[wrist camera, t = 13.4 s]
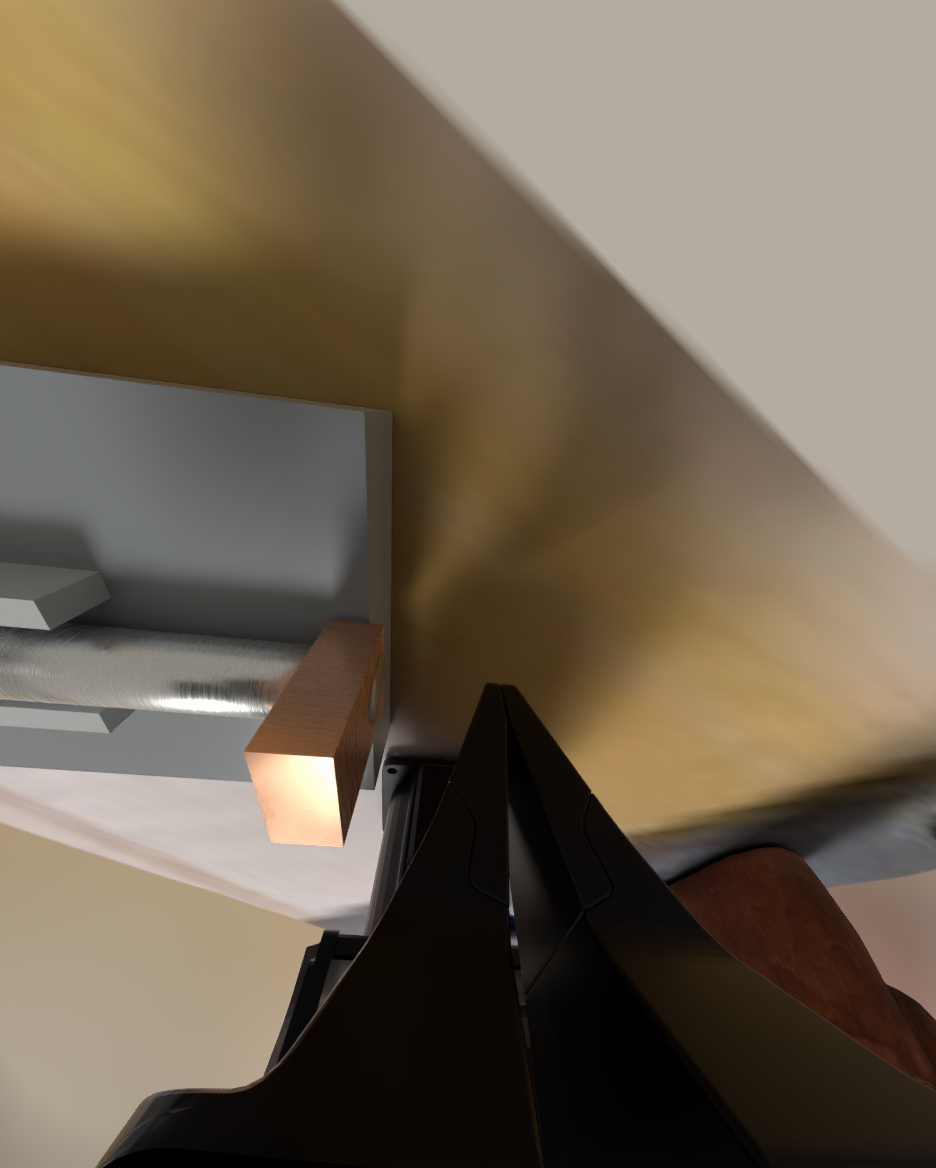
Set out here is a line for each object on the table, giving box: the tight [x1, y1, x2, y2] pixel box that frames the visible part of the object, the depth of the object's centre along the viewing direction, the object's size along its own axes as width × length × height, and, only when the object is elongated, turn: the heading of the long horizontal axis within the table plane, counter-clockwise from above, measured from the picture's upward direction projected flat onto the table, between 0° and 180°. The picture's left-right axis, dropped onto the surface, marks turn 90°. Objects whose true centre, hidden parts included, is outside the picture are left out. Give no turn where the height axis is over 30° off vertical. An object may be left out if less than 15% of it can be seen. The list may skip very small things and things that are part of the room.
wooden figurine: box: [668, 847, 936, 1090], centre depth 15 cm, size 12×6×18 cm, turn 147°
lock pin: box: [0, 619, 385, 847], centre depth 8 cm, size 3×12×4 cm, turn 83°
